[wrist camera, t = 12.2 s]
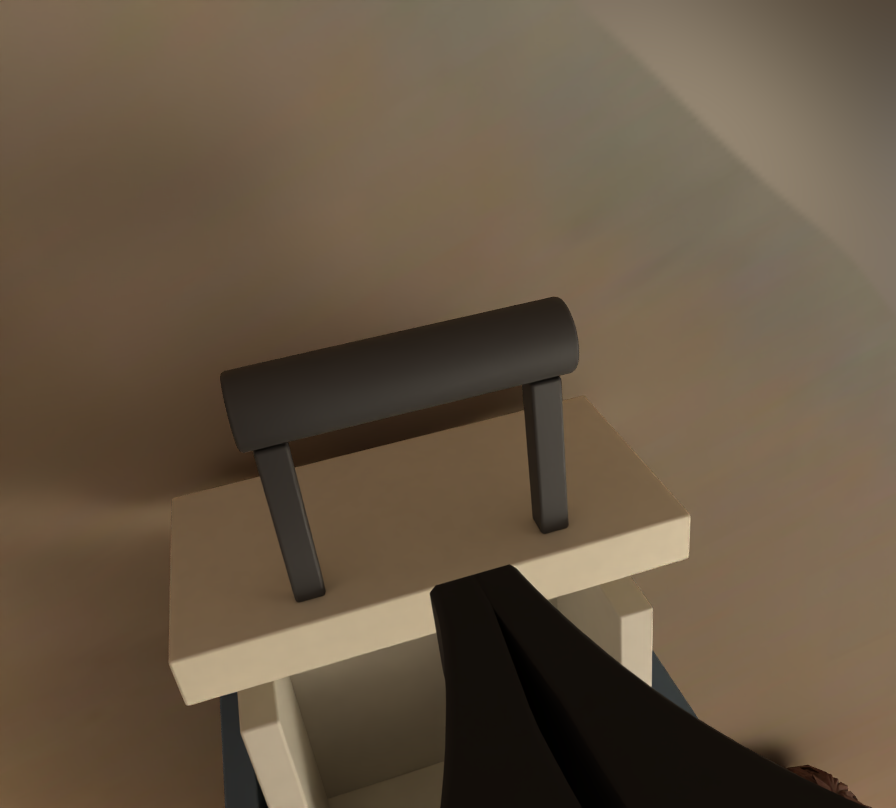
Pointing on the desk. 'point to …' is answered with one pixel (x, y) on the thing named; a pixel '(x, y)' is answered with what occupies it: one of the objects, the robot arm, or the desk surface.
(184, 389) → the desk surface
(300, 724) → the drawer
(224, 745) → the compartment
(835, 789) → the figurine
